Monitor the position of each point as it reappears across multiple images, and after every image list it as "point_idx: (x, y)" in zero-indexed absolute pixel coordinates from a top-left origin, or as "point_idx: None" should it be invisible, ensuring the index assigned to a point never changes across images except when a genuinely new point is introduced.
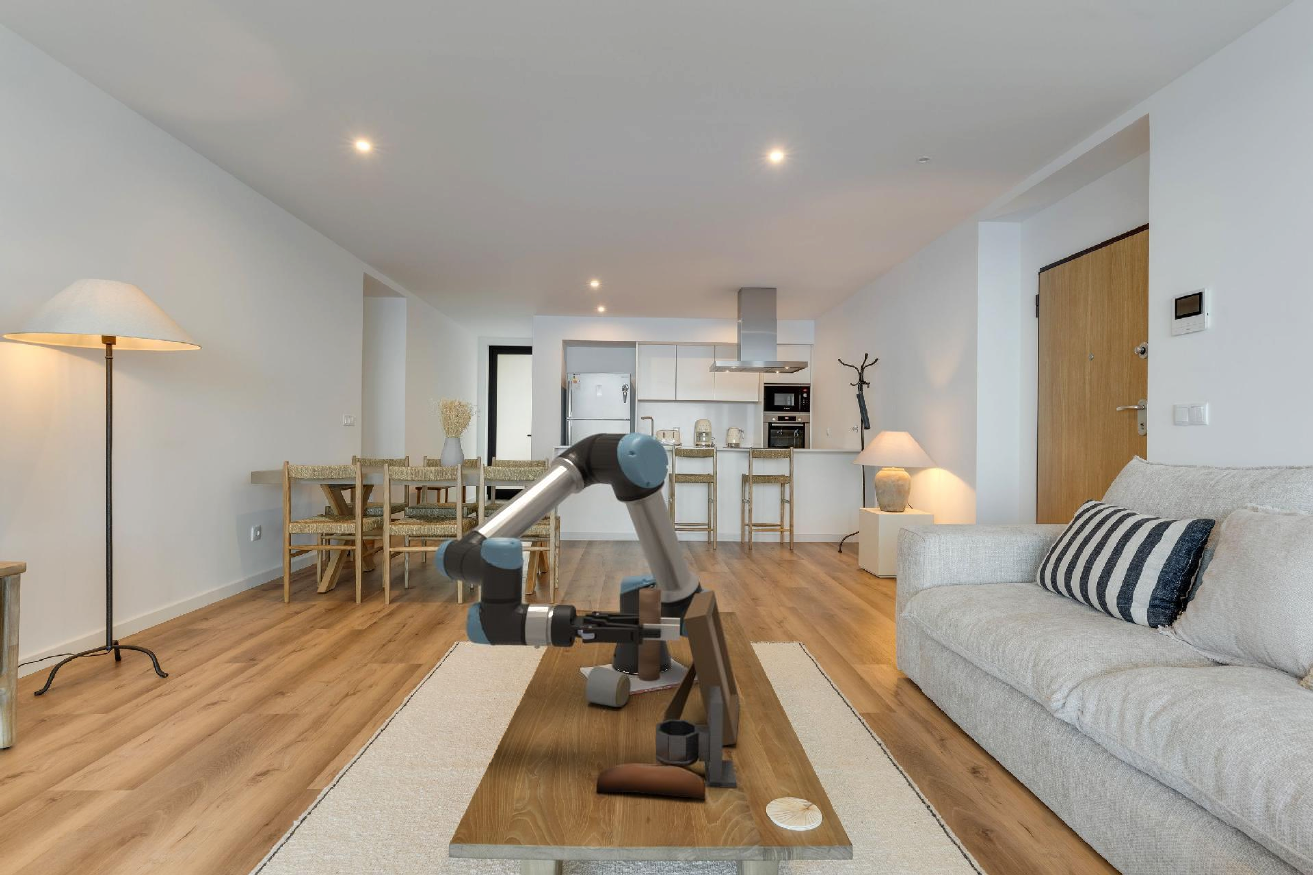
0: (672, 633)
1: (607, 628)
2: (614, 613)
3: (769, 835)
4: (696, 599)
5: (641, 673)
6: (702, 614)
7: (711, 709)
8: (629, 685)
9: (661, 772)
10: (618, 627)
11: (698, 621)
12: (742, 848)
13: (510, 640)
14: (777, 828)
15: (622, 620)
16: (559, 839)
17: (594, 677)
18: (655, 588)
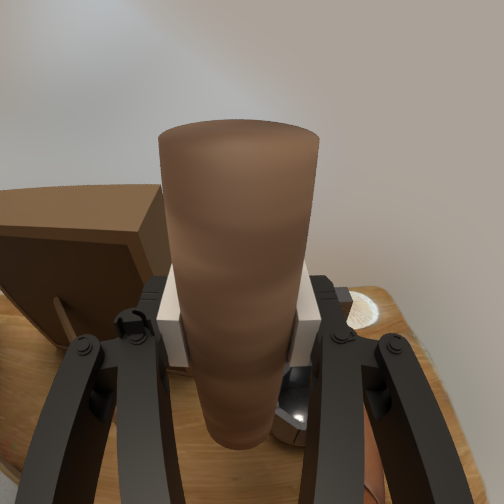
0: None
1: (451, 475)
2: (31, 475)
3: (395, 326)
4: None
5: (266, 432)
6: (147, 191)
7: (350, 308)
8: (4, 460)
9: (368, 424)
10: (409, 429)
11: (155, 212)
12: (423, 344)
13: None
14: (382, 321)
15: (167, 449)
16: (479, 500)
17: None
18: (183, 126)
